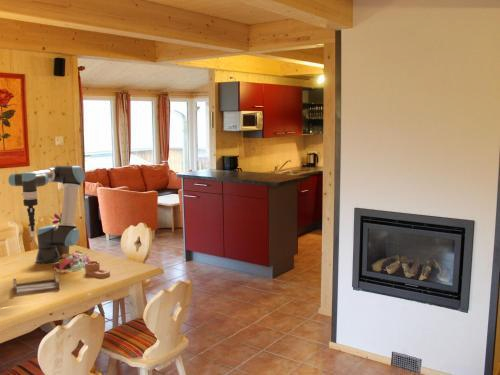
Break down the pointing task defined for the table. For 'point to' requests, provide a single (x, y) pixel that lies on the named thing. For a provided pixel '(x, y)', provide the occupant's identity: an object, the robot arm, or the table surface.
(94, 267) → the bracket
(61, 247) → the flowerpot
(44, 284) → the wooden window with sill
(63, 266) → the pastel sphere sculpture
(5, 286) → the table surface
